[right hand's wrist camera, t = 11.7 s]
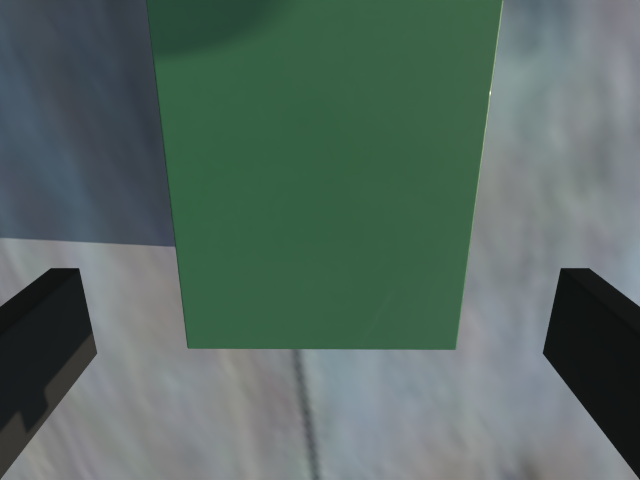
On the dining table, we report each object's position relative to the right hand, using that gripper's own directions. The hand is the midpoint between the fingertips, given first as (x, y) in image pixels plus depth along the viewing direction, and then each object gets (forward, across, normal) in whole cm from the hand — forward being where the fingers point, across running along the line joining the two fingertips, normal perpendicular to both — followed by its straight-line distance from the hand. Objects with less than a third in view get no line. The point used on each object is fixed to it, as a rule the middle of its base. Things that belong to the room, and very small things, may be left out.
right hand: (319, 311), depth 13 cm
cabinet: (+15, 0, -3) cm, 16 cm away
